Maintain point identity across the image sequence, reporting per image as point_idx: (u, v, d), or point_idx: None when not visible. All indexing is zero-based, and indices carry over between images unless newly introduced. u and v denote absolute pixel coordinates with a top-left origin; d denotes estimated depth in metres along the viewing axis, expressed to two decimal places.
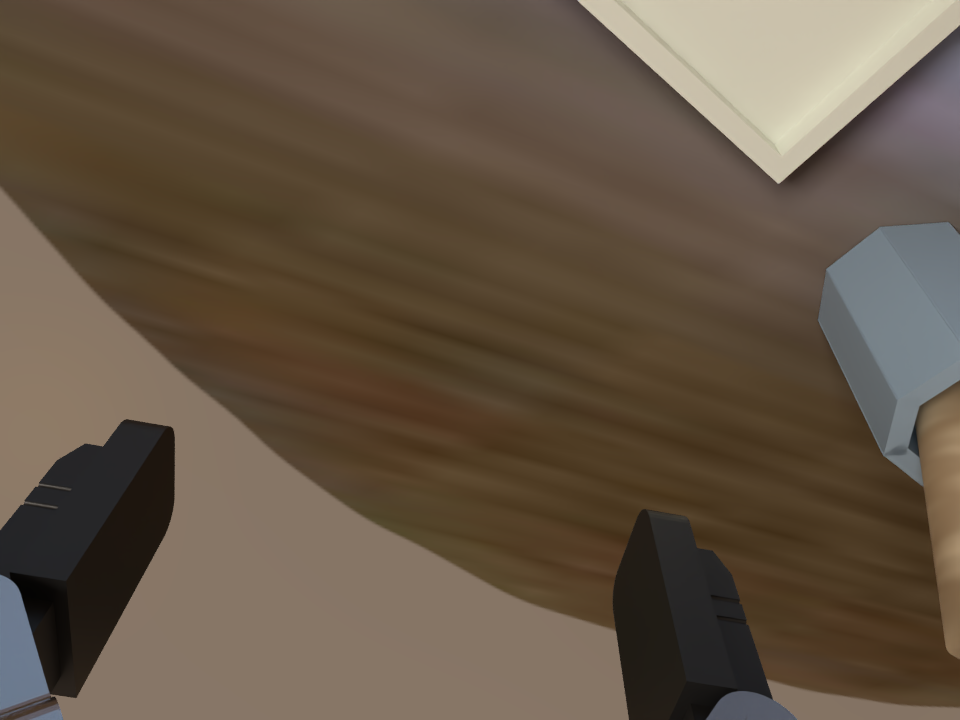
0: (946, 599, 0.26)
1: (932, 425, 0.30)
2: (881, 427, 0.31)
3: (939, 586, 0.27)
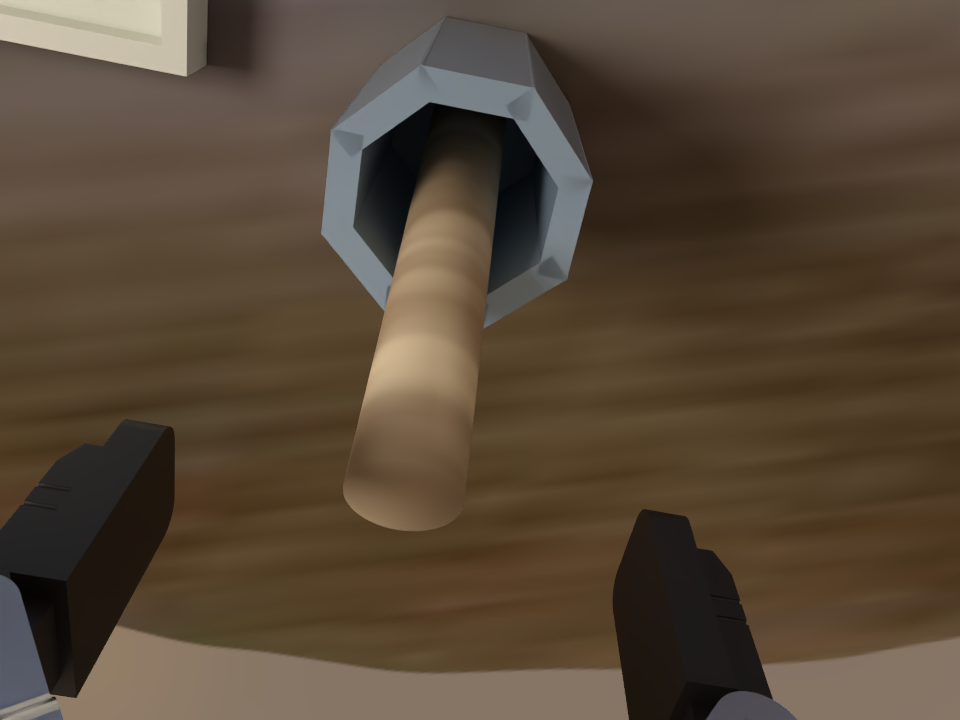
0: None
1: None
2: None
3: None
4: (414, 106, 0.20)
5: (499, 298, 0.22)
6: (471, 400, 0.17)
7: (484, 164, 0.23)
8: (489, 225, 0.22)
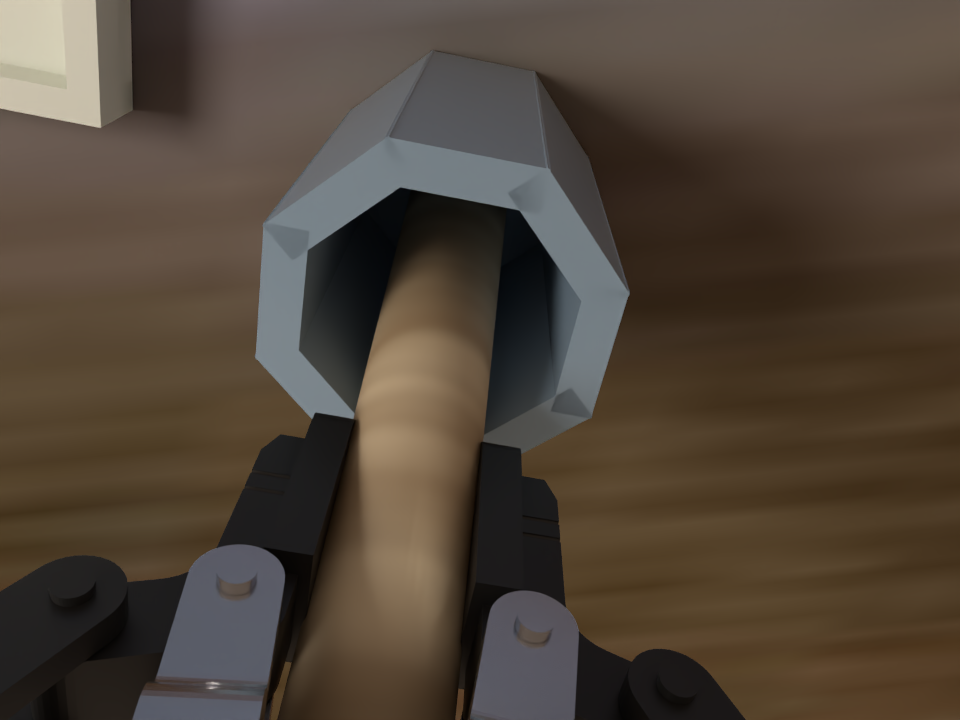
0: None
1: None
2: None
3: None
4: (378, 193, 0.14)
5: (499, 440, 0.16)
6: (456, 650, 0.12)
7: (480, 255, 0.17)
8: (486, 345, 0.16)
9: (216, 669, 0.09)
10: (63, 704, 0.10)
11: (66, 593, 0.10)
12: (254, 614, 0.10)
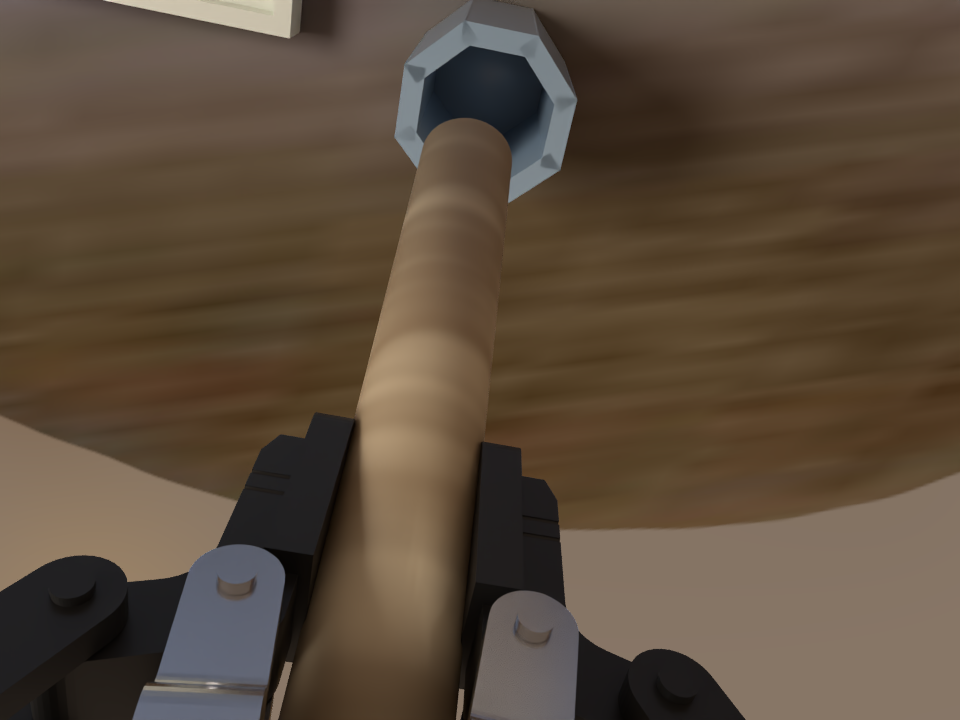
0: None
1: None
2: None
3: None
4: (459, 48, 0.30)
5: (514, 184, 0.32)
6: (457, 651, 0.12)
7: (481, 257, 0.17)
8: (486, 346, 0.16)
9: (216, 669, 0.09)
10: (63, 704, 0.10)
11: (66, 593, 0.10)
12: (254, 614, 0.10)
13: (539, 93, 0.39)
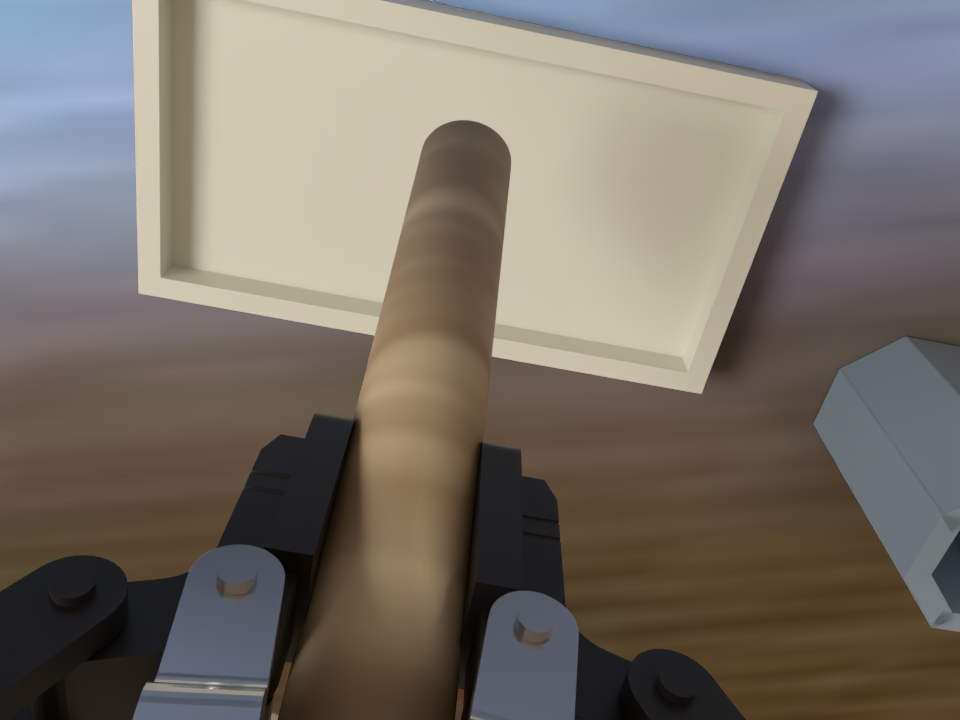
0: None
1: None
2: None
3: None
4: None
5: None
6: (455, 656, 0.12)
7: (480, 259, 0.17)
8: (485, 349, 0.16)
9: (216, 669, 0.09)
10: (63, 704, 0.10)
11: (66, 593, 0.10)
12: (254, 614, 0.10)
13: None
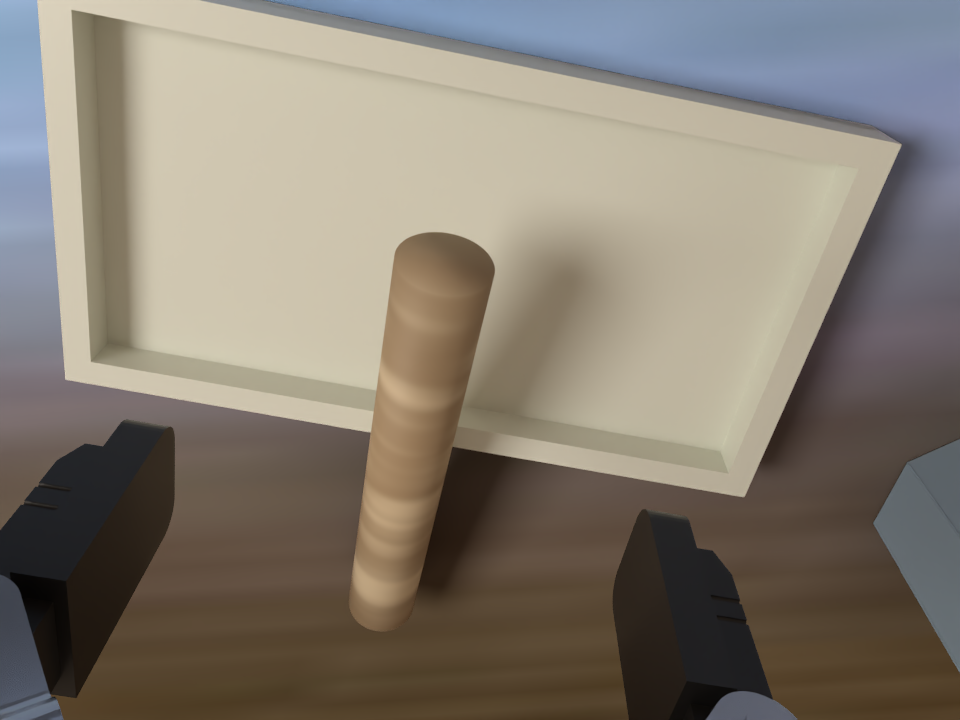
0: None
1: None
2: None
3: None
4: None
5: None
6: (414, 588, 0.28)
7: (433, 441, 0.22)
8: (437, 484, 0.24)
9: None
10: None
11: None
12: None
13: None
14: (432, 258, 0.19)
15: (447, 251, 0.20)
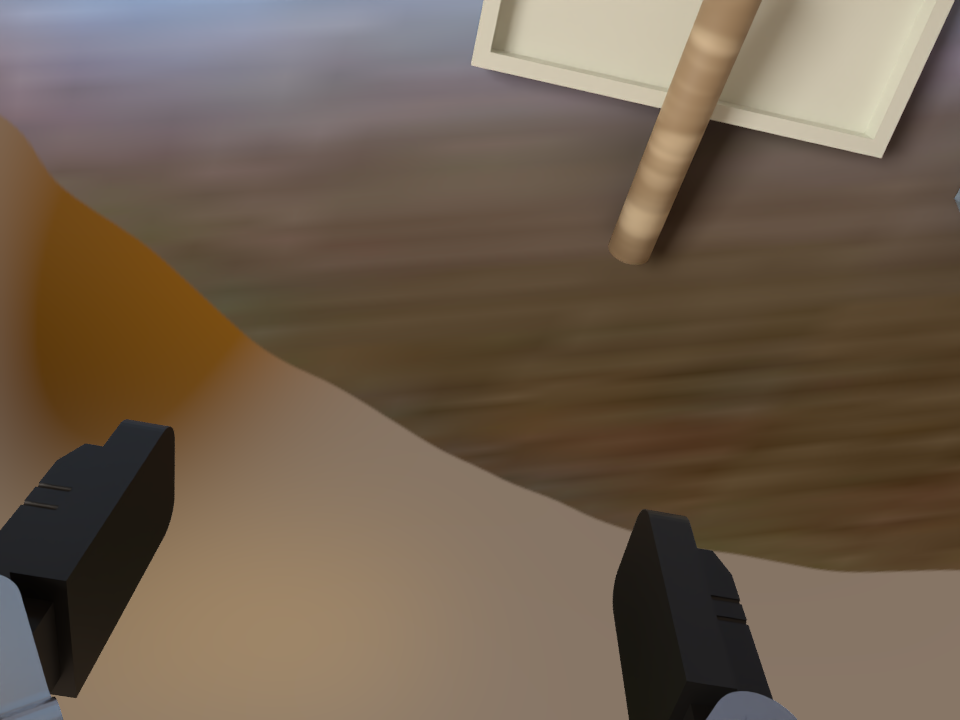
0: (618, 222, 0.45)
1: (657, 118, 0.40)
2: None
3: None
4: None
5: None
6: (661, 227, 0.44)
7: (717, 84, 0.38)
8: (705, 126, 0.39)
9: None
10: None
11: None
12: None
13: None
14: None
15: None
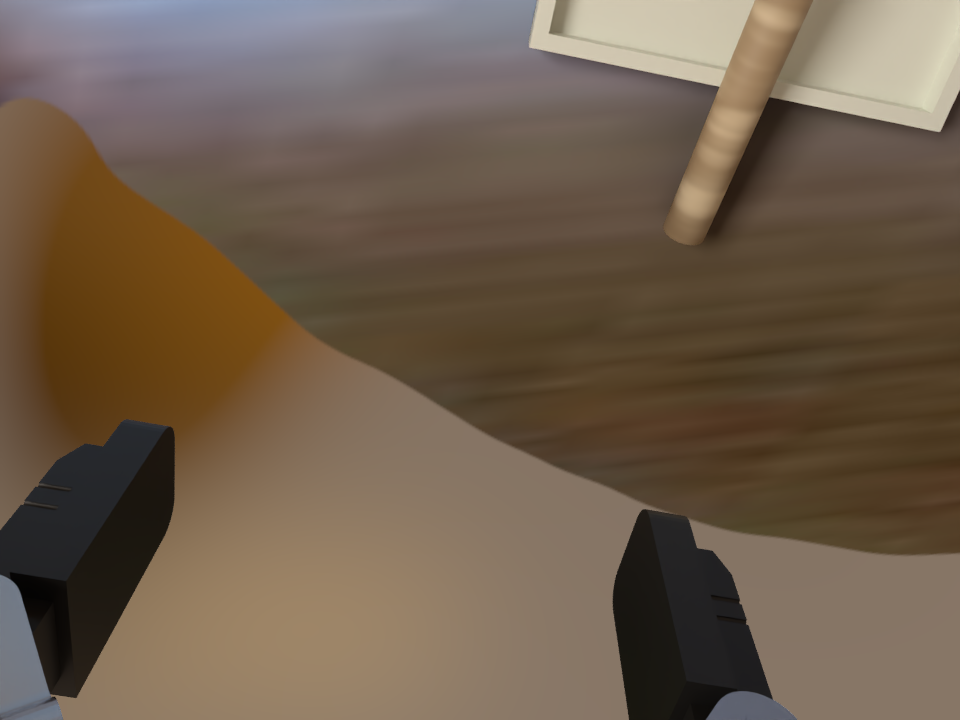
0: None
1: (716, 95, 0.40)
2: None
3: None
4: None
5: None
6: (718, 207, 0.44)
7: (779, 59, 0.38)
8: (765, 102, 0.40)
9: None
10: None
11: None
12: None
13: None
14: None
15: None
